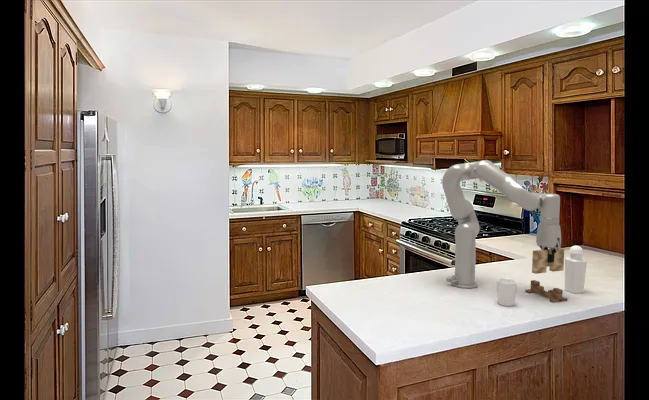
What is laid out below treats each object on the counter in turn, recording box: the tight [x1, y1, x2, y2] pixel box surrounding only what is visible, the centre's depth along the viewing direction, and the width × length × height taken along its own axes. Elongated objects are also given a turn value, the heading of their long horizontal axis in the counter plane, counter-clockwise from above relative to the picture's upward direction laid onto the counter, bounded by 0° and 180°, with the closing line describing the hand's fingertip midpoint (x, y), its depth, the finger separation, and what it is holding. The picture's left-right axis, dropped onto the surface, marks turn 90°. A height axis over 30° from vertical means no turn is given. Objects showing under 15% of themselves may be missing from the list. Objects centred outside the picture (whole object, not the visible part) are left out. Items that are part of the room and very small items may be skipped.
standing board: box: [525, 279, 568, 304], centre depth 200 cm, size 16×8×5 cm, turn 19°
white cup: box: [496, 278, 518, 307], centre depth 190 cm, size 8×8×10 cm
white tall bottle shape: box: [564, 245, 588, 294], centre depth 206 cm, size 6×6×22 cm
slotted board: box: [531, 247, 565, 275], centre depth 198 cm, size 16×2×10 cm, turn 109°
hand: (548, 261), depth 198 cm, fingers closed on slotted board, 2 cm apart
